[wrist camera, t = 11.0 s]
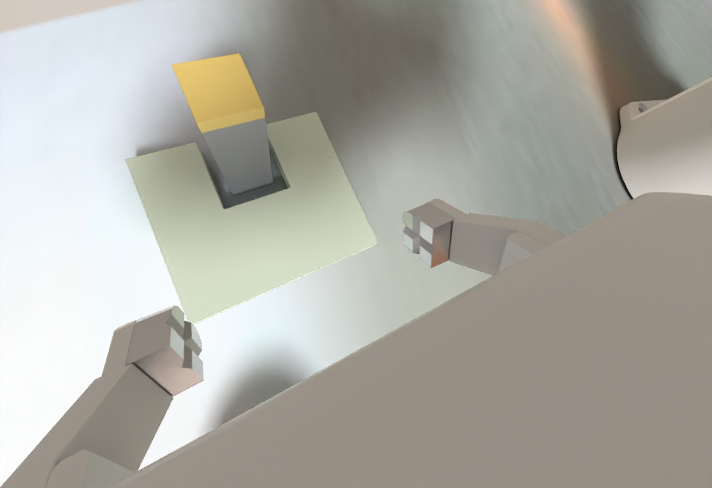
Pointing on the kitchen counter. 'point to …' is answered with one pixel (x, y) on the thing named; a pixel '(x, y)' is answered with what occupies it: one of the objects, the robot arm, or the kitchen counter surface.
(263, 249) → the notched board
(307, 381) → the robot arm
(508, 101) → the kitchen counter surface
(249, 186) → the grey and yellow block
